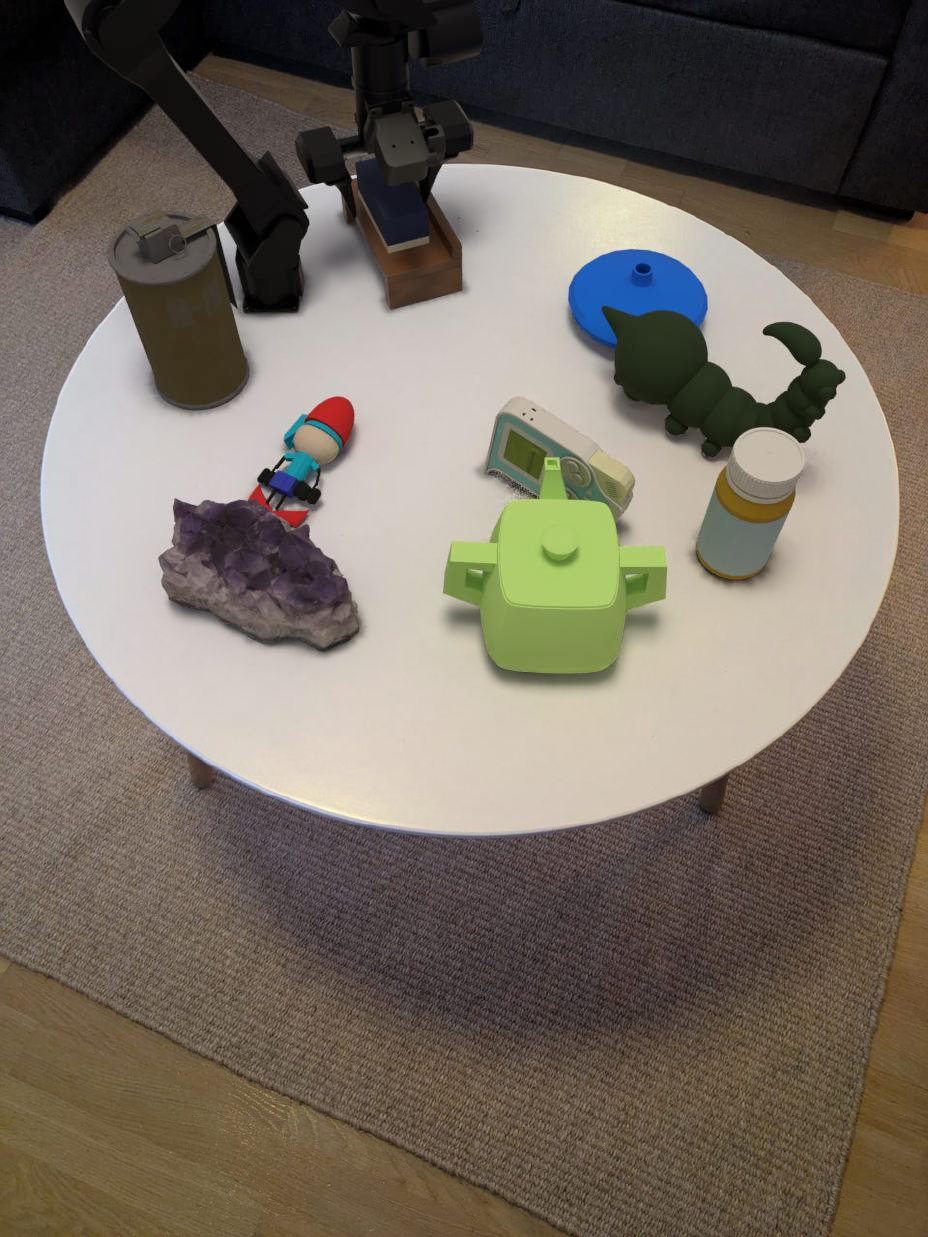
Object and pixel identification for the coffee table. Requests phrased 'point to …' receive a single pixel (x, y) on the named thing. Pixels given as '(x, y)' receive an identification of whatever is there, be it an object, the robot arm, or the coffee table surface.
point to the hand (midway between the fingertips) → (388, 208)
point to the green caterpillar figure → (715, 379)
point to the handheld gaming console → (539, 434)
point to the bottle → (750, 503)
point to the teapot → (554, 581)
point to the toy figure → (307, 455)
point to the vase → (633, 290)
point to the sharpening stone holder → (414, 257)
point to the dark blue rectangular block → (392, 208)
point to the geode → (257, 574)
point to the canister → (181, 306)
